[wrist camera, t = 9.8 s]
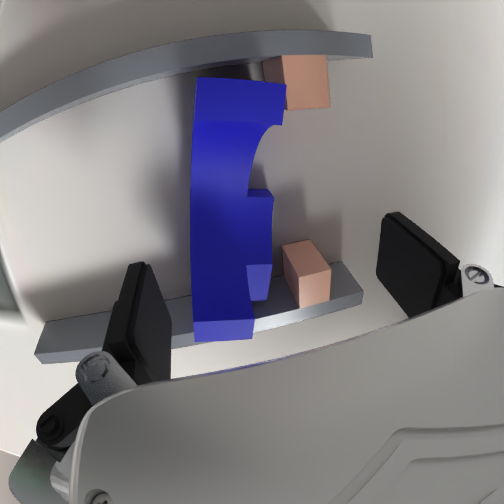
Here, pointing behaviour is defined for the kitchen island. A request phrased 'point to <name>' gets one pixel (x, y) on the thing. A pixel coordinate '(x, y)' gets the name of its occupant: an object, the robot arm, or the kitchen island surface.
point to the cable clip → (229, 205)
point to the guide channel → (297, 97)
